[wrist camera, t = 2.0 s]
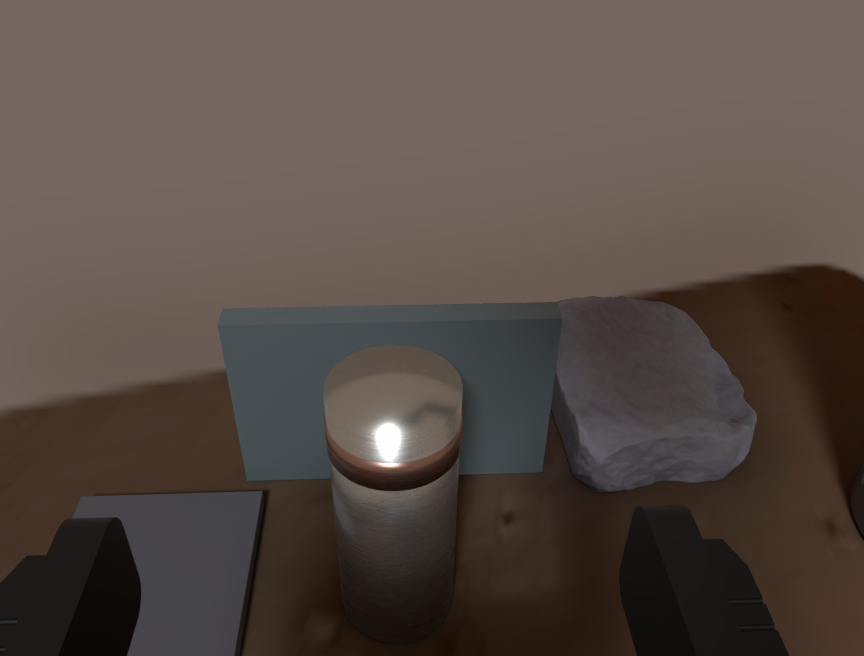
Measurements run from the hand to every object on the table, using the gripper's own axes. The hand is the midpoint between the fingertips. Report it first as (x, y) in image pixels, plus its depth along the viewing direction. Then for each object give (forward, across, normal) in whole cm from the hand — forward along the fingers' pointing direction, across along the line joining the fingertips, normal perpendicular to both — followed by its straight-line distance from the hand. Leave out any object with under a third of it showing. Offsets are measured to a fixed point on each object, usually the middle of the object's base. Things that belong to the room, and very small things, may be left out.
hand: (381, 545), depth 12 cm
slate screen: (+18, 0, +17) cm, 25 cm away
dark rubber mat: (+12, +10, +17) cm, 23 cm away
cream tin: (+11, 0, +17) cm, 20 cm away
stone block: (+22, -13, +17) cm, 31 cm away
